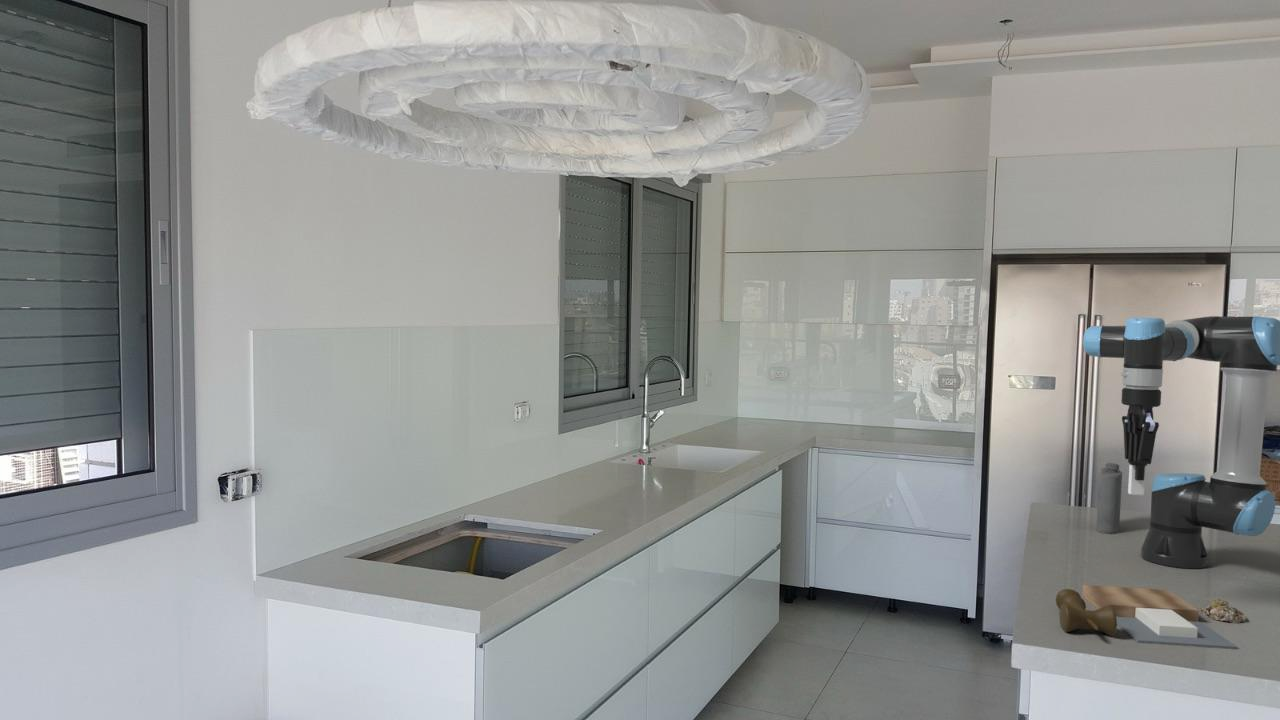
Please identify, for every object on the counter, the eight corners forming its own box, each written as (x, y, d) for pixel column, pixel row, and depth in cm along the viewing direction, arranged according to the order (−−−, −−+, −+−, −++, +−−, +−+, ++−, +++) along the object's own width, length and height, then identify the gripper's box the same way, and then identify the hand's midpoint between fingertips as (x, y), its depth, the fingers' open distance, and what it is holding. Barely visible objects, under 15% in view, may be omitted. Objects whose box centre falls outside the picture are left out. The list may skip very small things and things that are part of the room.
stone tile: (1170, 619, 184) (1171, 609, 184) (1197, 638, 173) (1197, 628, 173) (1135, 616, 185) (1135, 607, 185) (1159, 635, 174) (1159, 625, 174)
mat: (1200, 623, 182) (1200, 622, 182) (1237, 649, 169) (1237, 646, 168) (1109, 618, 185) (1109, 616, 185) (1138, 642, 171) (1138, 640, 171)
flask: (1118, 535, 259) (1121, 468, 258) (1096, 532, 262) (1099, 465, 261) (1119, 525, 272) (1123, 461, 271) (1098, 523, 275) (1102, 459, 274)
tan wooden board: (1166, 600, 197) (1167, 590, 197) (1198, 622, 183) (1198, 610, 183) (1082, 595, 200) (1082, 584, 199) (1107, 616, 186) (1107, 604, 186)
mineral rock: (1252, 617, 181) (1208, 599, 185) (1244, 636, 182) (1200, 618, 186) (1246, 604, 191) (1204, 588, 194) (1238, 623, 191) (1197, 606, 195)
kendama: (1091, 615, 188) (1124, 646, 169) (1043, 612, 190) (1070, 642, 170) (1092, 587, 188) (1124, 615, 168) (1044, 584, 190) (1071, 612, 170)
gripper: (1111, 384, 200) (1106, 487, 201) (1136, 389, 187) (1130, 499, 188) (1146, 386, 199) (1140, 489, 200) (1174, 390, 186) (1167, 501, 187)
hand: (1135, 493), depth 194 cm, fingers closed
